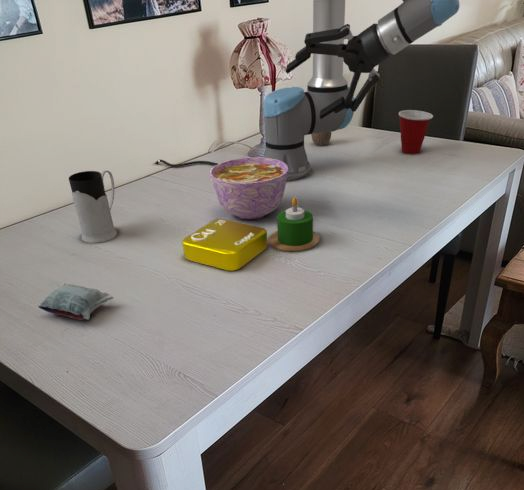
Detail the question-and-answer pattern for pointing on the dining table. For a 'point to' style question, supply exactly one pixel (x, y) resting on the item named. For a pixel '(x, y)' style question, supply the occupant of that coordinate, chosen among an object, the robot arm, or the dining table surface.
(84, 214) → the glass holder
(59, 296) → the packaged food
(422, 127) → the plastic cup
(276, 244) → the cork trivet
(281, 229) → the candle
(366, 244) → the dining table surface
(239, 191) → the bowl of food
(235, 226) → the element tile
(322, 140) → the vase
